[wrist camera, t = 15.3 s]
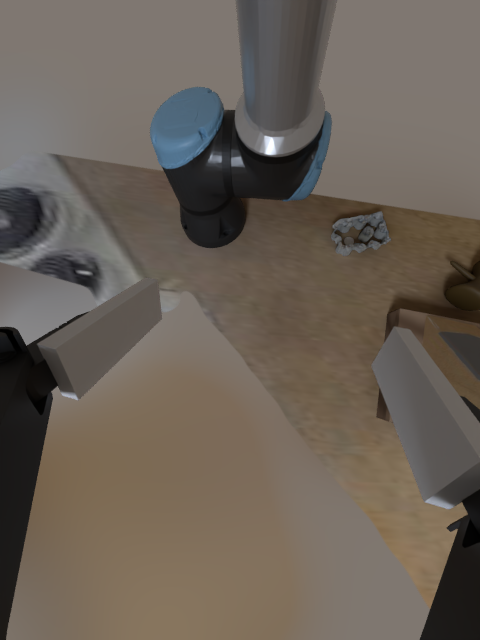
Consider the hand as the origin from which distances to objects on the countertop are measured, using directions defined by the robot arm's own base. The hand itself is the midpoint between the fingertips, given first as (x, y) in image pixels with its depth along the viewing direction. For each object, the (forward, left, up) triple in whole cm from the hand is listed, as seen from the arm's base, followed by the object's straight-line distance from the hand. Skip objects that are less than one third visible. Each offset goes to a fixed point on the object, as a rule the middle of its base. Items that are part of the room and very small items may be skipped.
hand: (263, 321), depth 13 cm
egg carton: (-31, +15, -34) cm, 48 cm away
